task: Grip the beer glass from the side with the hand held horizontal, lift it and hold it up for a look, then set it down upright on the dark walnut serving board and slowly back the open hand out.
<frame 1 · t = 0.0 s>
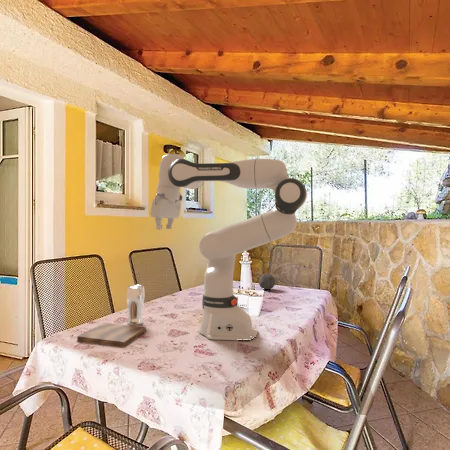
hand: (163, 229, 134), 39 cm above the table, tool pointing down, fingers open, 8 cm apart
beer glass: (135, 323, 138), on the table
decorative ball: (266, 290, 209), on the table
walnut board: (113, 335, 122), on the table
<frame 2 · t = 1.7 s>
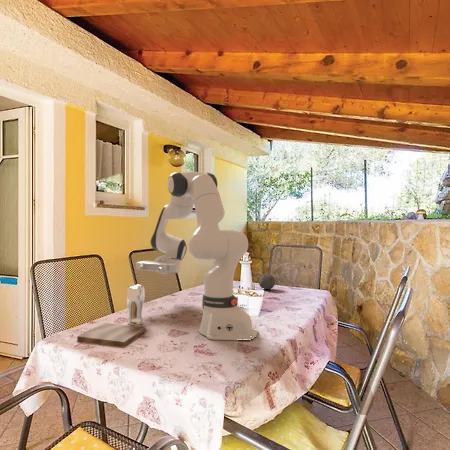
hand: (150, 269, 150), 20 cm above the table, tool horizontal, fingers open, 8 cm apart
nothing on the table moved.
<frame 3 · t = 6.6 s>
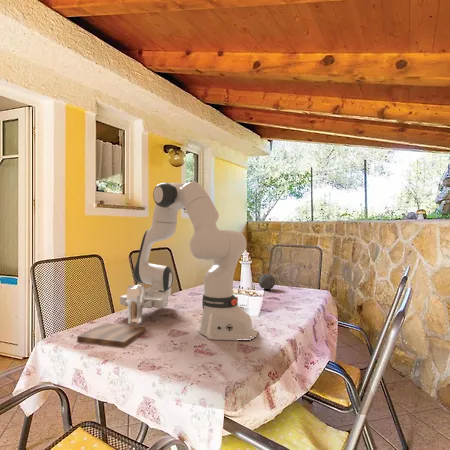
hand: (134, 305, 137), 8 cm above the table, tool horizontal, fingers closed on beer glass, 6 cm apart
beer glass: (135, 323, 138), on the table, touching gripper
everything else where it was.
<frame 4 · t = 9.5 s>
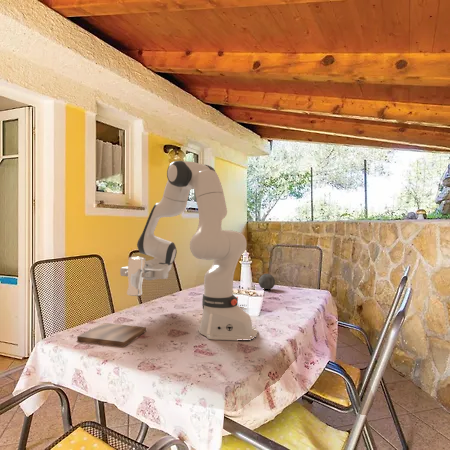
hand: (135, 274, 136), 20 cm above the table, tool horizontal, fingers closed on beer glass, 6 cm apart
beer glass: (134, 294, 138), point 12 cm above the table, touching gripper
everything else where it was.
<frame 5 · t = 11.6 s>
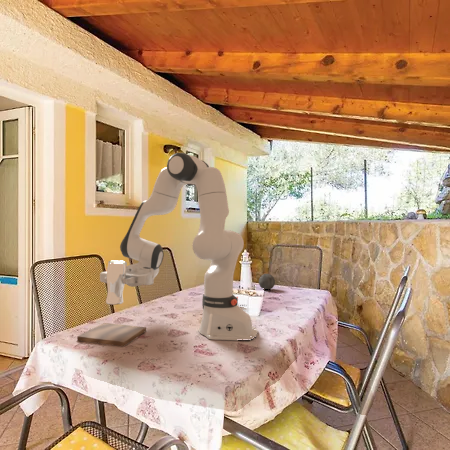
hand: (115, 281, 122), 20 cm above the table, tool horizontal, fingers closed on beer glass, 6 cm apart
beer glass: (114, 302, 124), point 12 cm above the table, touching gripper
everything else where it was.
when the fingers open (10 cm above the table, at t = 15.3 s): beer glass moves 2 cm, resting on walnut board.
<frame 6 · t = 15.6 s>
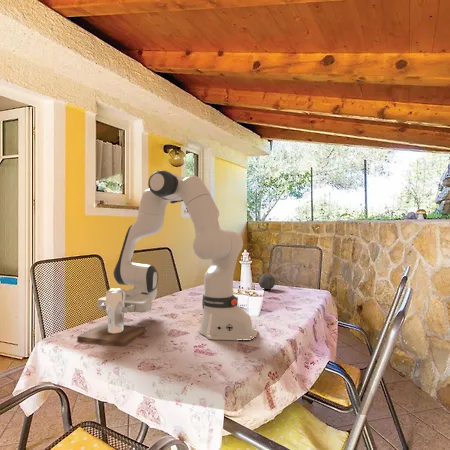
hand: (112, 309, 121), 10 cm above the table, tool horizontal, fingers open, 8 cm apart
beer glass: (115, 332, 122), point 1 cm above the table, touching gripper, walnut board
everything else where it was.
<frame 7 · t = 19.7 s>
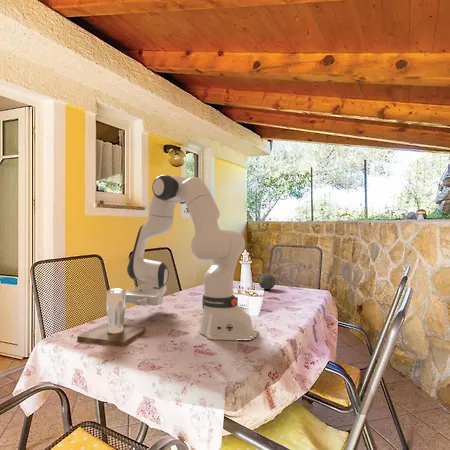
hand: (127, 302, 131), 10 cm above the table, tool horizontal, fingers open, 8 cm apart
beer glass: (115, 332, 122), point 1 cm above the table, touching walnut board
everything else where it was.
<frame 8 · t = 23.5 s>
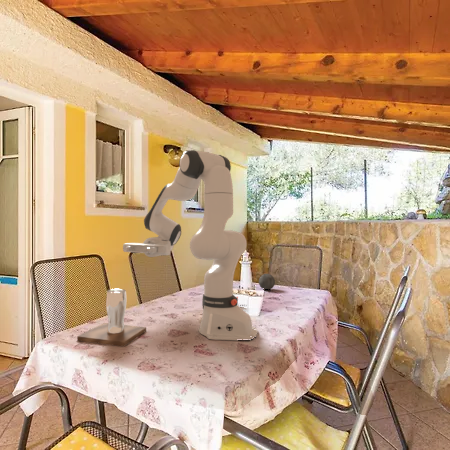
hand: (137, 249, 138), 30 cm above the table, tool horizontal, fingers open, 8 cm apart
nothing on the table moved.
at the end: beer glass inside the target area on the walnut board (1.1 cm from its centre), point 1.3 cm above the walnut board's base; beer glass tilted 0°; the gripper is holding nothing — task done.
